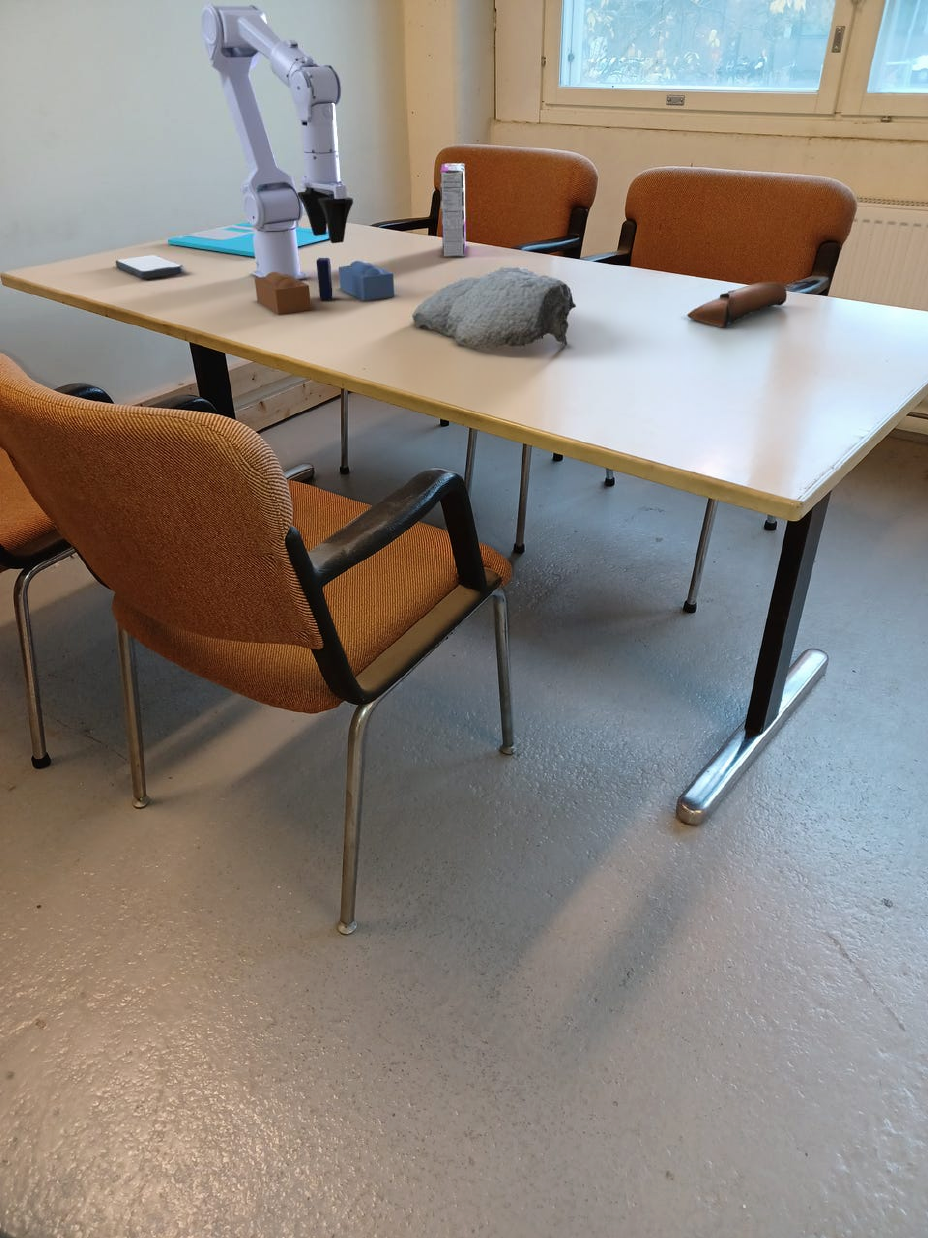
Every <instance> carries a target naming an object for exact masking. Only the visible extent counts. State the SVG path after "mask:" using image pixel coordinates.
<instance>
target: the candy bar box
mask: <svg viewBox="0 0 928 1238" xmlns="http://www.w3.org/2000/svg"><path fill="white" fill-rule="evenodd" d="M439 176H440V206H441V207H440V210H441V237H442V238H441V240H442V257H443V258H463V257H464V258H465V257H466V248H467V247H466V246H467V245H466V242H467V241H466V240H467V239H466V237H467V236H466V184H465V183H466V181H465V179H466V177H465V163H462V162H461V163H460V162H459V163H458V162H456V163H455V162H453V163H447V162H446V163H442V164H441V169H440V171H439Z"/></svg>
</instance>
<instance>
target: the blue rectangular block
mask: <svg viewBox="0 0 928 1238" xmlns="http://www.w3.org/2000/svg"><path fill="white" fill-rule="evenodd" d="M338 274H339V286H340V287H339V288H340V290H341V291H343V292H345V293H346V294H349V295H351V296H353V297H355V298H357V299H359V300H361V301H363V302H368V301H369V302H370V301H375V300H382V299H388V298H394V297H395V281H394V280H395V279H394V273H393V272H391V271H389V270H386V269H383V268H381V267H379V266H377V265H374V264H371V263H369V262H364V261H362V260H355V261H353V262H351V263H350V264H349V265H343V266H338Z"/></svg>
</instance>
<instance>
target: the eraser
mask: <svg viewBox="0 0 928 1238" xmlns="http://www.w3.org/2000/svg"><path fill="white" fill-rule="evenodd" d="M315 262H316V271H317V283H318V295H319V300H320V301H322V302H323V301H324V302H325V301H327V302H330V301H331V300H332V299H333V296H334V295H333V281H332V265H331V260H330V258H329V257H318V258H317V259H316V261H315Z"/></svg>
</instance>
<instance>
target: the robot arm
mask: <svg viewBox="0 0 928 1238" xmlns="http://www.w3.org/2000/svg"><path fill="white" fill-rule="evenodd" d="M199 30H200V36H201V38H202V42H203V44H204V48H205V52H206V53H207V57H208V59H209V60H208V61H209V63H210V66H211V67H212V68H214V69H215V70H216V71H217V74H218V77H219V81H220V85H221V87H222V91H223V94H224V97H225V99H226V104H227V106H228V109H229V112H230V116H231V119H232V122H233V126H234V129H235V130H236V135H237V137H238V141H239V144H240V148H241V151H242V154H243V157H244V160H245V162H246V167H247V169H248V173H249V175H248V176H247V177H246V178H245V180H244V181H243V182H242V185H241V188H240V193H241V197H242V205H243V207H242V208H243V212H244V216H245V218H246V220H247V223H250V224H251V226H252V227H253V229H257V230H256V231H255V234H254V237H253V244H254V251H255V257H254V258H255V259H254V260H255V265H256V270H254V271H252V275H254V276H256V278H260V277H266V276H267V275H268V274H269V273H271V272H278V273H281V274H288V275H290V276H292V277H294V278H296V279H298V280H304V279H309V275H308V274H306V273H304V272H302V271H301V267H300V266H301V265H300V259H299V258H300V257H299V248H298V247H299V246H297V238H296V228H295V227H299V228H300V225H299V222H300V221H302V218H303V214H304V210H305V213H306V215H307V218H308V222H309V224H310V229H312V231H313V234H314V236H318V235H326V231H328V233H329V237H330V239H329V240H330V243H331V244H340V243H344V241H345V235H346V227H347V221H348V218H349V214H350V211H351V209H352V206H353V205H354V198H352V197H348V187H347V186H348V185H346V184H344V182H343V180H342V179H341V170H340V169H341V168H340V157H339V155H340V154H339V143H338V142H339V141H338V129H337V116H336V106H337V105H338V104H339V103H340V100H341V97H342V85H341V84H342V82H341V79H340V77H339V74H338V72H337V71H336V69H335V68H334V67H333V65H331V64H324V65H321V64H318V63H317V62H316V61H315V58H313V57H312V56H310V55H308V54H307V53H306V52H305V51H304V50H303V49H302V48H301V47H300V46H299V42H298V41H297V40H296V39H284V40H282V38H280V37H279V36H278V35H277V33H276V32H275V31H274V30H273V29H272V28H271V27H270V26H269V24H268V23H267V17H266V14H265V12H264V11H263V10H261V9H260V8H259V7H258V6H257V5H256V4H249V5H213V4H209V3H208V4H206V5H205V6H204V7H203V9H202V12H201V15H200V29H199ZM261 55H262V56H263V57H265V58H266V59H267V60H268V61H269V67H270V70H271V72H272V73H273V74H274V75H275V77H277V78H278V79H279V81H281V82H282V83H283V84H284V85H285V86H286V87H287V88H288V89H289V90H290V91H289V92H290V94H291V98H292V101H293V103H294V105H295V110H296V111H295V112H296V116H297V119H298V120H299V121H300V125H301V137H302V148H303V157H304V159H303V160H304V168H305V169H304V171H305V175H302V176H301V181H299V185H300V187H302V188H303V189H304V191H298V188H297V187H296V185H295V183H294V180H293V179H294V178H293V176H291V175H290V174H288V173H287V172H285V171H284V170H283V169H280V168H279V167H278V165H277V162H276V158H275V155H274V152H273V148H272V146H271V143H270V139H269V136H268V133H267V129H266V126H265V123H264V120H263V116H262V113H261V109H260V107H259V103H258V100H257V97H256V94H255V90H254V87H253V84H252V81H251V77H250V71H251V70H252V69H253V68H254V67H256V66H257V65H258V62H259V59H260V56H261Z"/></svg>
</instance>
